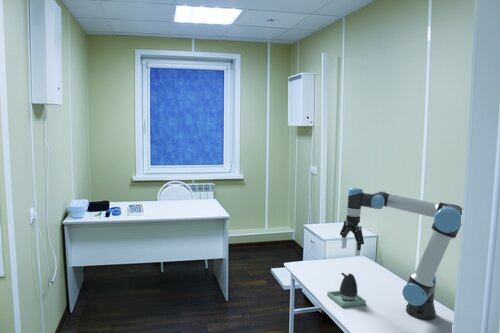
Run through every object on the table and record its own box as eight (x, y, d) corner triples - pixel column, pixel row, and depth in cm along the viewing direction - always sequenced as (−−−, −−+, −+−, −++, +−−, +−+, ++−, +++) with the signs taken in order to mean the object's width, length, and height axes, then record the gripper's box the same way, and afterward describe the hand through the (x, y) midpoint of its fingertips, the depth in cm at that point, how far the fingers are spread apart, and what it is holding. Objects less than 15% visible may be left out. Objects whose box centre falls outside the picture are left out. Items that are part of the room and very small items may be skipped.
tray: (365, 304, 228) (365, 300, 228) (341, 307, 222) (342, 303, 222) (349, 293, 242) (350, 289, 242) (327, 295, 237) (327, 291, 237)
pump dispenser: (343, 293, 240) (345, 269, 238) (359, 299, 233) (362, 274, 232) (335, 298, 232) (337, 273, 231) (351, 304, 225) (354, 278, 224)
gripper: (372, 220, 217) (369, 258, 219) (346, 210, 241) (343, 245, 243) (361, 220, 215) (357, 259, 217) (335, 210, 238) (333, 245, 240)
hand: (350, 251), depth 230 cm, fingers open, 13 cm apart
